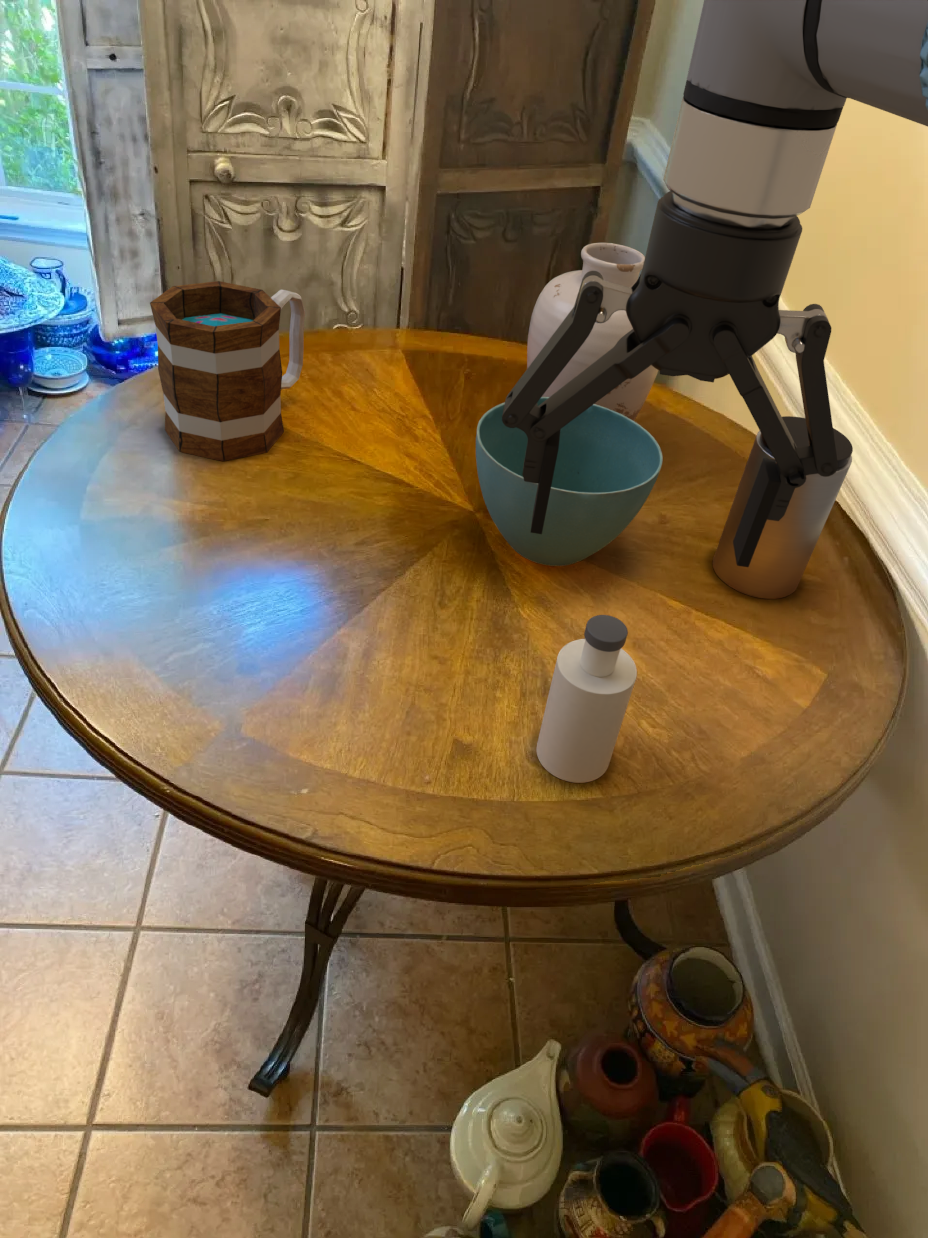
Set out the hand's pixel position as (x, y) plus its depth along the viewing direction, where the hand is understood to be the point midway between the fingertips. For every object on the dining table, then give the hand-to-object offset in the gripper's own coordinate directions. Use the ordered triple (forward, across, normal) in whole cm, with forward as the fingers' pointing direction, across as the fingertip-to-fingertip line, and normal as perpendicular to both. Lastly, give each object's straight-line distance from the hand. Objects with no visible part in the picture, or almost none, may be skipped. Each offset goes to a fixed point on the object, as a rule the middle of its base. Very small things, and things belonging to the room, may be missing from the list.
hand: (638, 538), depth 61 cm
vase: (+22, +2, -52) cm, 56 cm away
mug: (+22, +42, -43) cm, 64 cm away
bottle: (+21, 0, 0) cm, 21 cm away
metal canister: (+21, -18, -29) cm, 40 cm away
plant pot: (+22, +4, -29) cm, 36 cm away
